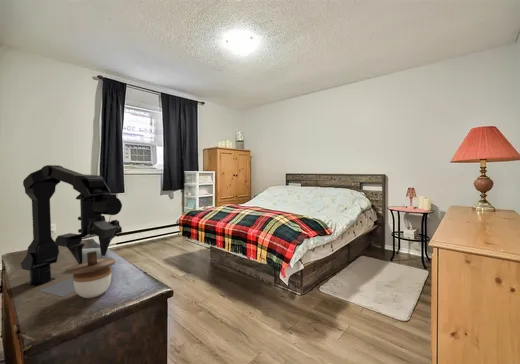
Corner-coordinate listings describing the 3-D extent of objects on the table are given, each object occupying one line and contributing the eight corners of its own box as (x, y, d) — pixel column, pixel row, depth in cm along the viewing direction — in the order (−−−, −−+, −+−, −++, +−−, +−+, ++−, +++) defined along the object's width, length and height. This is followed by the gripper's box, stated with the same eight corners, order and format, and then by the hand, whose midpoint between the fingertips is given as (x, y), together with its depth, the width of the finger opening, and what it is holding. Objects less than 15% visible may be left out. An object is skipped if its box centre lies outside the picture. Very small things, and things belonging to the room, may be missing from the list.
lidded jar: (105, 284, 89) (105, 258, 88) (117, 293, 82) (116, 266, 82) (69, 295, 81) (68, 267, 80) (78, 307, 74) (78, 276, 73)
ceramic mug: (103, 266, 106) (103, 248, 105) (80, 269, 101) (79, 251, 101) (104, 258, 115) (103, 242, 114) (82, 262, 110) (82, 245, 110)
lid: (57, 273, 77) (56, 258, 77) (96, 260, 89) (95, 247, 89) (87, 274, 73) (86, 258, 73) (124, 260, 85) (123, 247, 85)
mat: (38, 292, 83) (38, 290, 83) (75, 277, 94) (75, 276, 94) (62, 298, 79) (62, 296, 79) (97, 282, 90) (97, 281, 90)
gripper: (79, 220, 69) (81, 274, 69) (133, 210, 86) (133, 253, 87) (53, 217, 72) (54, 269, 73) (109, 208, 90) (110, 250, 91)
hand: (92, 259), depth 81 cm, fingers open, 8 cm apart
